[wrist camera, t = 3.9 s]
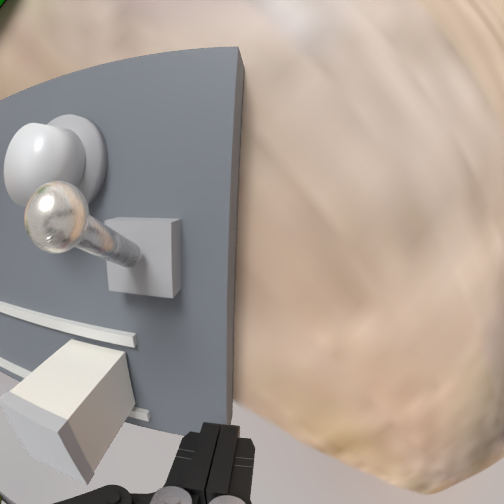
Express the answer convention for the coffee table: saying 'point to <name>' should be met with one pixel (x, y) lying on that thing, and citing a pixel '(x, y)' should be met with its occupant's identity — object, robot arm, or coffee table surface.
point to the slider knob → (72, 407)
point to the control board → (138, 231)
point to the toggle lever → (73, 226)
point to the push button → (42, 160)
